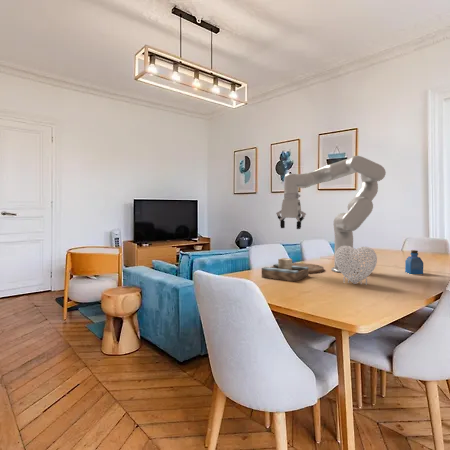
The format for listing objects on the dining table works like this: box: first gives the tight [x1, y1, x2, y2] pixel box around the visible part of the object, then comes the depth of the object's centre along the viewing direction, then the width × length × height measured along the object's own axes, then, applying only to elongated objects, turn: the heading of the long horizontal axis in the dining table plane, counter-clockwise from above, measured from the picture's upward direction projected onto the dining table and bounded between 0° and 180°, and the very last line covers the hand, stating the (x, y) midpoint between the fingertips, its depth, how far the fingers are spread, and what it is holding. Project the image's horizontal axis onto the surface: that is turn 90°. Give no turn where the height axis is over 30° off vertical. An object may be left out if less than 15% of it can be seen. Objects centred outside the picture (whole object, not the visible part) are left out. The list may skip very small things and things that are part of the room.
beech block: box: [277, 257, 293, 270], centre depth 168 cm, size 5×5×9 cm
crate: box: [261, 263, 309, 282], centre depth 168 cm, size 18×16×5 cm
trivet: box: [292, 262, 325, 275], centre depth 187 cm, size 25×25×2 cm
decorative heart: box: [334, 246, 378, 286], centre depth 151 cm, size 18×11×17 cm, turn 57°
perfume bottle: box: [404, 249, 424, 275], centre depth 173 cm, size 6×6×12 cm
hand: (290, 228), depth 180 cm, fingers open, 9 cm apart
